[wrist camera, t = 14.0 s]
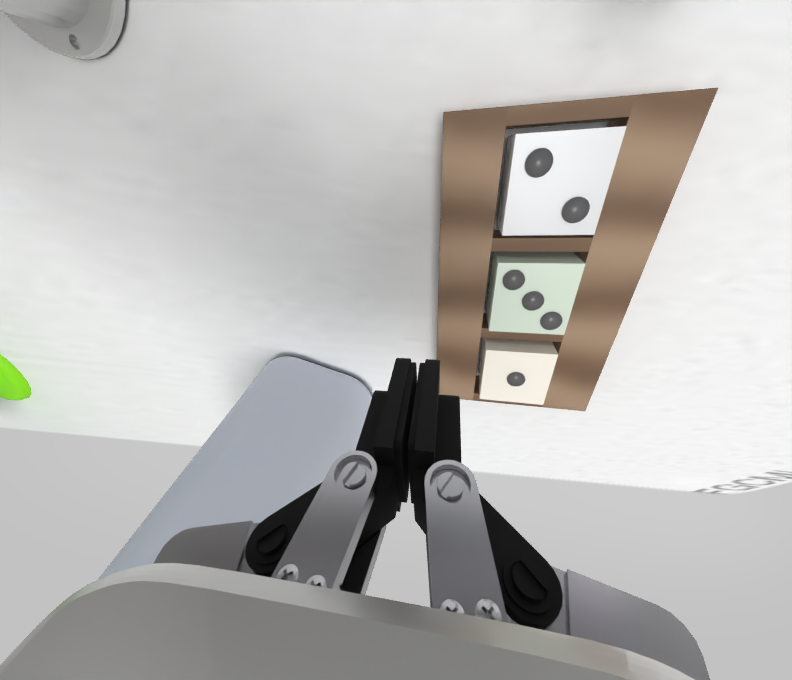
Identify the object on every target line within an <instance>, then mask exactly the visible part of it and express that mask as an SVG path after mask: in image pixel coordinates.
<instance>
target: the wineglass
mask: <svg viewBox="0 0 792 680" xmlns="http://www.w3.org/2000/svg"><path fill="white" fill-rule="evenodd" d="M30 395H31V388H30V386H29V384H28V382H27V381H26V379H25V378H24V377H23V375H22V374H21V373H20V372H19V371H18V370H17V369H16V368H15V367H14V366H13V365H12V364H11V363H10V362H9V361H8V360H6V359H5V358H4V357H3V356H2V355H0V397H1V398H5V399H9V400H22V399H25V398H29V396H30Z"/></svg>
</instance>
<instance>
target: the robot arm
mask: <svg viewBox="0 0 792 680" xmlns="http://www.w3.org/2000/svg"><path fill="white" fill-rule="evenodd" d="M125 4H126V0H0V11H3V12H5V14H6V15H7V16H8V17H9V18H10V19H11V20H12V21H13V22H14V23H15V24H16V25H17V26H18V27H19V28H20V29H22V30H23V31H24V32H25V33H26V34H28V35H29V36H30V37H32V38H33V39H34V40H35V41H37V42H38V43H40V44H42V45H43V46H45V47H47V48H48V49H50V50H52V51H54V52H57V53H60V54H63V55H66V56H70V57H75V58H79V59H96V58H98V57H101V56H103V55H105V54H107V53H108V52H109V51H110V49H111V48H112V47H113V46H114V45H115V44H116V42H117V40H118V38H119V36H120V34H121V31H122V26H123V22H124V18H125ZM439 391H440V360H429V359H426V361H425V363H420V366H419V373H418V380H417V372H416V363H412V362H411V359H406V358H396V361H395V365H394V368H393V372H392V376H391V380H390V384H389V387H388V391H375V392H374V394H373V396H372V400H371V403H370V406H369V409H368V412H367V415H366V418H365V422H364V425H363V428H362V431H361V434H360V437H359V440H358V444H357V447H356V450H355V451H350V452H347V453H345V454H343V455H341V456H340V457H339V458H337V459H336V460H335V462H334V463H333V464H332V466H331V468H330V469H329V471H328V473H327V475H326V477H325V479H324V480H323V482H322V483H320V484H318V485H317V486H315V487H314V488H312V489H311V490H309V491H307V492H306V493H304V494H303V495H301V496H300V497H298V498H297V499H295V500H293V501H292V502H290V503H289V504H287V505H286V506H284V507H282V508H281V509H279V510H278V511H276V512H275V513H273V514H272V515H270V516H268V517H267V518H266V519H264V520H263V521H262V522H261V523H253V521H244V522H236V523H227V524H219V525H211V526H202V527H194V528H189V529H186V530H183V531H181V532H179V533H178V534H176V535H175V536H173V537H172V538H171V539H170V540H169V541H168V542H167V543H166V544H165V545H164V546H163V548H162V549H161V551H160V552H159V554H158V556H157V557H156V559H155V561H154V563H153V564H148V565H141V566H137V567H133V568H128V569H125V570H122V571H119V572H116V573H113V574H110V575H108V576H106V577H103V578H101V579H99V580H97V581H95V582H92V583H90V584H88V585H86V586H85V587H83V588H82V589H80V590H78V591H77V592H75V593H74V594H72V595H71V596H70V597H69V598H67V599H66V600H65V601H63V602H62V603H61V604H60V605H59V606H58V607H57V608H56V609H55V610H53V611H52V612H51V613H50V614H49V615H48V616H47V617H46V618H45V619H44V620H43V621H42V622H41V623H40V624H39V625H38V626H37V627H36V628H35V629H34V630H33V631H32V632H31V633H30V634H29V635H28V636H27V637H26V638H25V639H24V640H23V642H22V643H21V644H20V645H19V646H18V647H17V648H16V649H15V650H14V651H13V652H12V653H11V654H10V655H9V656H8V658H7V659H6V660H5V661H4V662H3V663H2V664H1V665H0V680H710V678H709V675H708V671H707V668H706V665H705V661H704V658H703V656H702V653H701V651H700V649H699V647H698V644H697V642H696V640H695V639H694V637H693V636H692V635H691V633H690V632H689V631H688V629H687V628H686V627H685V625H684V624H683V623H682V622H680V621H679V620H678V619H677V618H676V617H675V616H674V615H673V614H671V613H670V612H669V611H667V610H665V609H663V608H661V607H660V606H658V605H656V604H653V603H651V602H648V601H646V600H643V599H641V598H638V597H636V596H633V595H631V594H628V593H626V592H623V591H621V590H618V589H616V588H613V587H611V586H608V585H606V584H603V583H601V582H598V581H596V580H593V579H591V578H588V577H586V576H583V575H581V574H578V573H576V572H573V571H571V570H567V571H566V572H565V571H562V570H560V569H557V568H555V567H552V566H550V565H549V564H548V562H547V561H546V560H545V559H544V558H543V557H542V556H541V555H540V554H539V553H538V552H537V551H536V550H535V549H534V548H533V547H532V546H531V545H530V544H529V543H528V542H527V541H526V540H525V539H524V538H523V537H522V536H521V535H520V534H519V533H518V532H517V531H516V530H515V529H514V528H513V527H512V526H511V525H510V524H509V523H508V522H507V521H506V520H505V519H504V518H503V517H502V516H501V515H500V514H499V513H498V512H497V511H496V510H495V509H494V508H493V507H492V506H491V505H490V504H489V503H488V502H487V501H486V500H485V499H484V498H483V497H482V496H481V495H480V494H479V492H478V487H477V483H476V480H475V478H474V475H473V474H472V472H471V471H470V470H469V468H467V467H466V466H465V465H463V464H462V463H461V436H460V398H459V396H453V395H439ZM409 483H410V491H411V503H414V511H415V521H416V522H417V524H418V525H419V526H420V527H421V529H422V530H423V532H424V533H425V534H426V546H427V561H428V577H429V592H430V607H431V608H430V607H425V606H420V605H414V604H409V603H404V602H398V601H393V600H388V599H382V598H377V597H372V596H367V595H365V594H366V590H367V587H368V584H369V581H370V578H371V574H372V571H373V568H374V565H375V562H376V559H377V556H378V552H379V549H380V546H381V543H382V540H383V537H384V533H385V530H386V524H388V523H389V522H390V521H391V520H393V519H394V518H395V516H396V511H399V512H400V506H401V502H407V498H408V491H409Z"/></svg>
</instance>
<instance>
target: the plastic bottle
mask: <svg viewBox="0 0 792 680" xmlns="http://www.w3.org/2000/svg"><path fill="white" fill-rule="evenodd" d="M371 400H372V396H371V394H370V392H369V390H368V389H367V388H366V387H365V385H364V384H362V383H361V382H360V381H359V380H357V379H355V378H353V377H351V376H348V375H346V374H343V373H340V372H337V371H334V370H331V369H328V368H325V367H322V366H320V365H317V364H314V363H311V362H308V361H305V360H302V359H299V358H296V357H289V356H284V357H279V358H275V359H273V360H272V361H270V362H269V363H268V364H267V365H266V366H265V367H264V368H263V370H262V371H261V372H260V374H259V375H258V376H257V377H256V379H255V380H254V381H253V382H252V384H251V385H250V386H249V388H248V389H247V390H246V391H245V393H244V394H243V395H242V397H241V398H240V399H239V400H238V402H237V403H236V404H235V405H234V407H233V408H232V409H231V411H230V412H229V413H228V414H227V416H226V417H225V418H224V419H223V421H222V422H221V423H220V425H219V426H218V427H217V428H216V430H215V431H214V432H213V433H212V435H211V436H210V437H209V439H208V440H207V441H206V442H205V444H204V445H203V446H202V447H201V449H200V450H199V451H198V453H197V454H196V455H195V456H194V458H193V459H192V460H191V462H190V463H189V464H188V465H187V467H186V468H185V469H184V471H183V472H182V473H181V475H180V476H179V477H178V478H177V479H176V481H175V482H174V483H173V484H172V486H171V487H170V488H169V490H168V491H167V492H166V493H165V495H164V496H163V497H162V499H161V500H160V501H159V502H158V504H157V505H156V506H155V507H154V509H153V510H152V511H151V513H150V514H149V515H148V516H147V518H146V519H145V520H144V522H143V523H142V524H141V526H140V527H139V528H138V529H137V530H136V532H135V533H134V534H133V535H132V537H131V538H130V539H129V541H128V542H127V543H126V544H125V546H124V547H123V548H122V550H121V551H120V552H119V553H118V555H117V556H116V557H115V558H114V560H113V561H112V562H111V563H110V565H109V566H108V567H107V569H106V570H105V571H104V573H103V574H102V575H101V576H100V578H99V579H101V578H103V577H106V576H108V575H110V574H113V573H116V572H119V571H122V570H125V569H128V568H133V567H137V566H141V565H148V564H153V563H154V561H155V559H156V557H157V556H158V554H159V552H160V551H161V549H162V548H163V546H164V545H165V544H166V543H167V542H168V541H169V540H170V539H171V538H172V537H173V536H175V535H176V534H178V533H179V532H181V531H183V530H186V529H189V528H194V527H202V526H211V525H219V524H227V523H236V522H244V521H253V523H261V522H262V521H263V520H264V519H266V518H267V517H268V516H270V515H272V514H273V513H275V512H276V511H278V510H279V509H281V508H282V507H284V506H286V505H287V504H289V503H290V502H292V501H293V500H295V499H297V498H298V497H300V496H301V495H303V494H304V493H306V492H307V491H309V490H311V489H312V488H314V487H315V486H317V485H318V484H320V483H322V482H323V480H324V479H325V477H326V475H327V473H328V471H329V469H330V468H331V466H332V464H333V463H334V462H335V460H336V459H337V458H339V457H340V456H341V455H343V454H345V453H347V452H350V451H355V450H356V447H357V444H358V440H359V437H360V434H361V431H362V428H363V425H364V422H365V418H366V415H367V412H368V409H369V406H370V403H371ZM99 579H98V580H99Z"/></svg>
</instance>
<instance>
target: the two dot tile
mask: <svg viewBox="0 0 792 680" xmlns="http://www.w3.org/2000/svg"><path fill="white" fill-rule="evenodd" d="M626 127H627V126H620V127H607V128H593V129H579V130H565V131H551V132H537V133H523V134H515V135H512V136H509V137H508V139H507V147H506V155H505V163H504V171H503V179H502V187H501V195H500V203H499V211H498V219H497V226H498V228H499V230H500V232H501V235H502V236H513V235H594V234H595V230H596V227H597V224H598V220H599V217H600V214H601V210H602V207H603V204H604V200H605V197H606V194H607V190H608V187H609V184H610V180H611V177H612V174H613V170H614V167H615V164H616V160H617V157H618V154H619V150H620V147H621V144H622V140H623V137H624V134H625V130H626Z"/></svg>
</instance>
